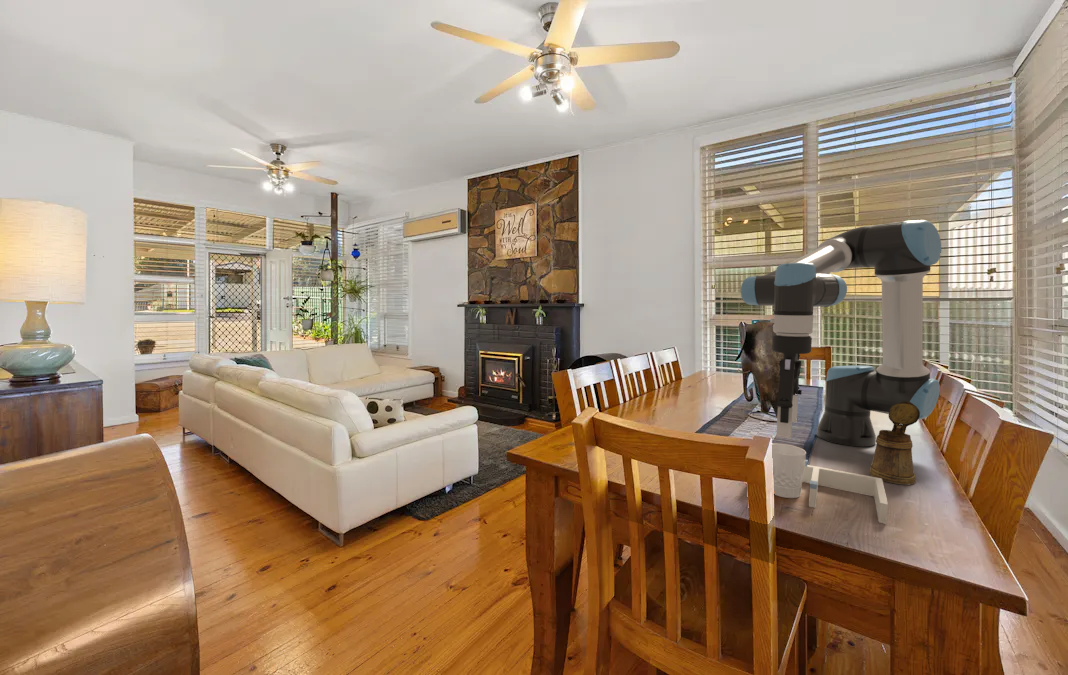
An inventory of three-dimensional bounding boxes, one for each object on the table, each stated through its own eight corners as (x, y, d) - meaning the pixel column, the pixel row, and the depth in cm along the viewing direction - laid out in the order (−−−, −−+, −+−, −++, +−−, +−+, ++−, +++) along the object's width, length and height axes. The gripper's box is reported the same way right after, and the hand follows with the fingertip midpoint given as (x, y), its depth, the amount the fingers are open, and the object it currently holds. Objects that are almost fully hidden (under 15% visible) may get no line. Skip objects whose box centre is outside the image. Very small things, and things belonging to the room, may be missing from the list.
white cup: (770, 481, 107) (772, 440, 106) (807, 492, 101) (810, 449, 100) (758, 491, 101) (760, 448, 100) (797, 503, 96) (800, 457, 95)
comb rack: (758, 471, 113) (759, 451, 113) (880, 495, 100) (882, 473, 99) (747, 492, 101) (749, 470, 100) (886, 524, 87) (888, 498, 87)
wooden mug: (925, 474, 112) (931, 404, 110) (909, 488, 104) (915, 412, 102) (882, 464, 119) (887, 397, 117) (863, 476, 111) (868, 404, 109)
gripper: (779, 329, 111) (774, 414, 113) (764, 338, 90) (760, 440, 92) (814, 331, 106) (809, 418, 108) (808, 340, 86) (802, 447, 88)
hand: (787, 429), depth 100 cm, fingers open, 13 cm apart
